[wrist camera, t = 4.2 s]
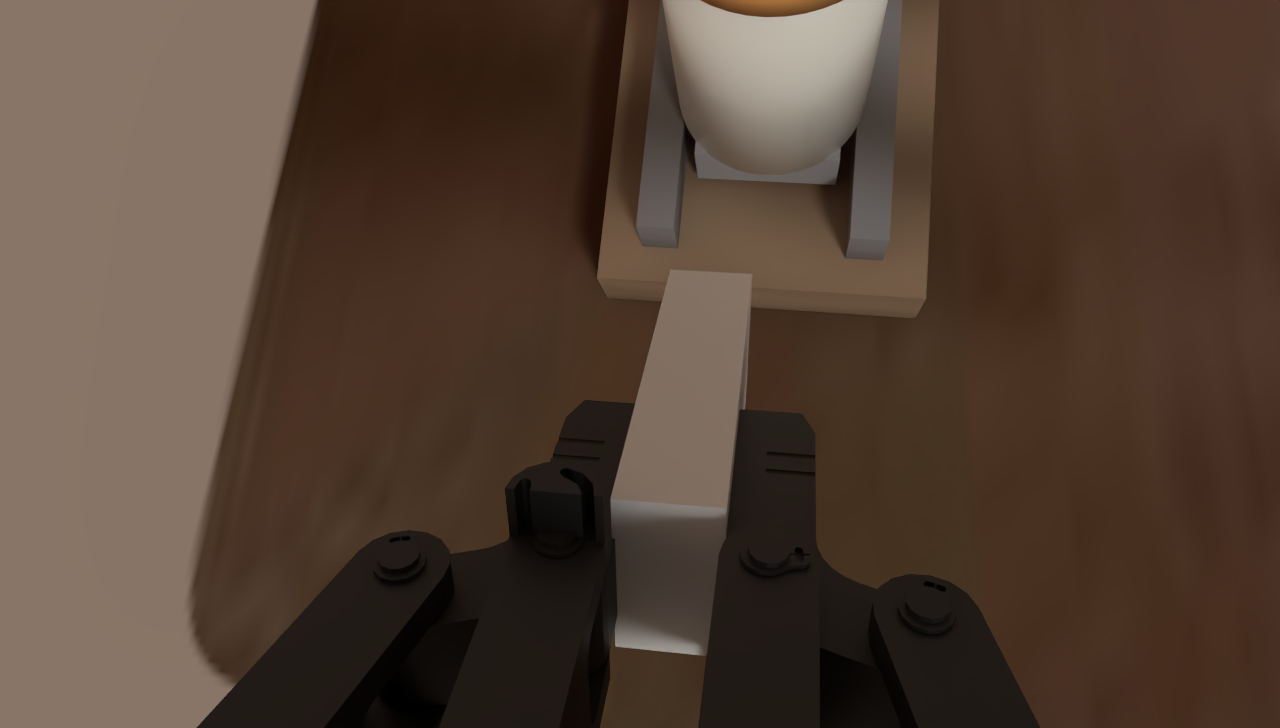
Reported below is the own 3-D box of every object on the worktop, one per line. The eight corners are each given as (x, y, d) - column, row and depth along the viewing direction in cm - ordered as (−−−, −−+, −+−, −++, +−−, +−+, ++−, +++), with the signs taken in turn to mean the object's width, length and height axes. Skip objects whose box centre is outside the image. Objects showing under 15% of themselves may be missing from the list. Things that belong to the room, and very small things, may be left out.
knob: (863, 210, 28) (922, -11, 17) (667, 200, 28) (615, -17, 18) (874, 31, 29) (935, -273, 19) (684, 26, 29) (645, -270, 19)
